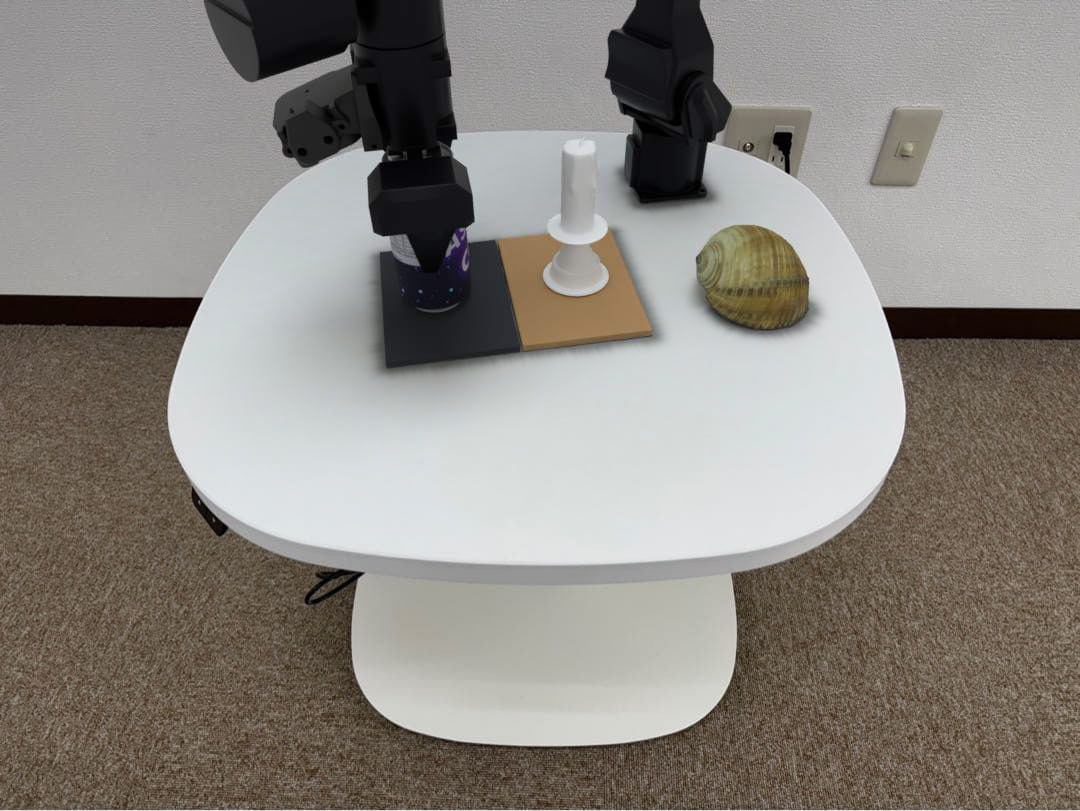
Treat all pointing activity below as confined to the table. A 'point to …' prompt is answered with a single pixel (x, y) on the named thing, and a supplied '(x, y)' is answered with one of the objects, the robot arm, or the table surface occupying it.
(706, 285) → the seashell
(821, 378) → the table surface
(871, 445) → the table surface
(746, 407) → the table surface
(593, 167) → the candle
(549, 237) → the sorting mat
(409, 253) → the beverage can
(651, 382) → the table surface
